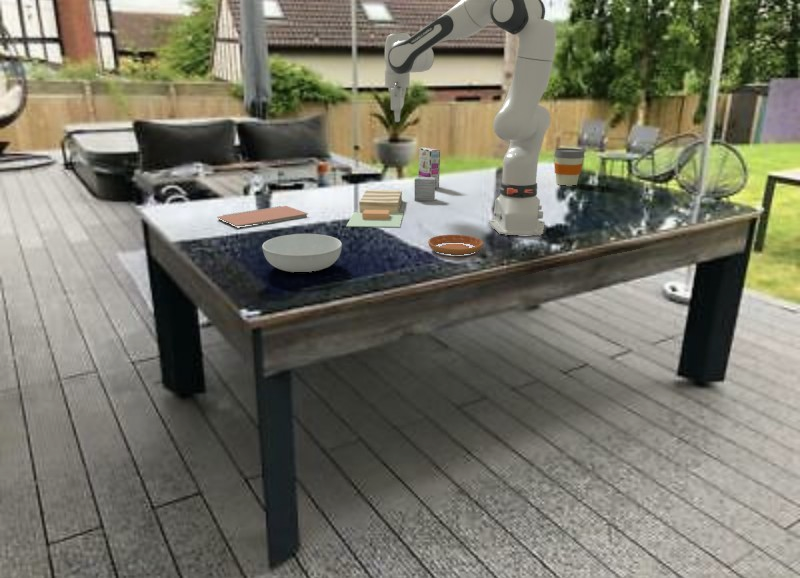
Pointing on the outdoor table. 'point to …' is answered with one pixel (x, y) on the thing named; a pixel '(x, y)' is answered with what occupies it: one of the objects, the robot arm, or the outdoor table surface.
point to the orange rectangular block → (376, 214)
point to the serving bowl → (302, 252)
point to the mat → (375, 221)
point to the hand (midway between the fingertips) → (397, 121)
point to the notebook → (263, 216)
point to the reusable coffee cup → (568, 165)
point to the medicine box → (424, 189)
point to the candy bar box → (429, 164)
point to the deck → (381, 200)
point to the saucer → (455, 248)
